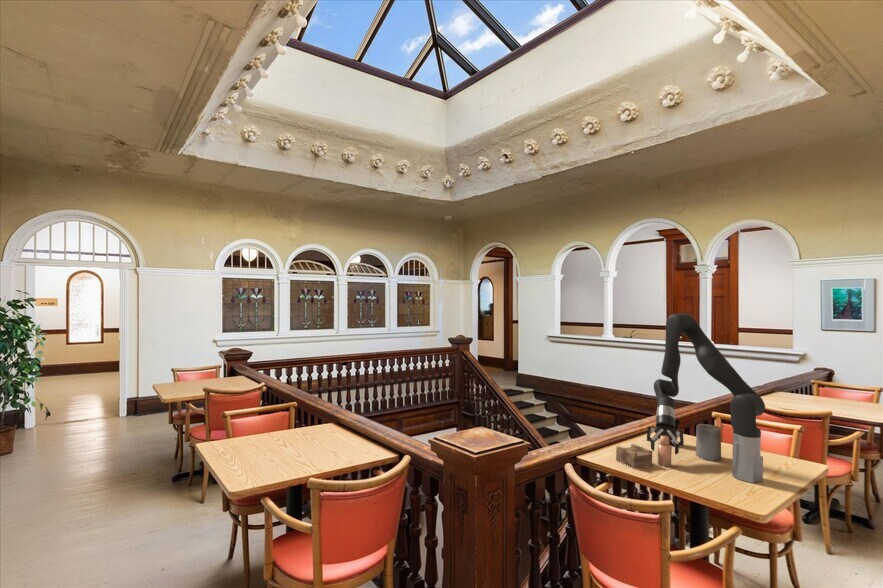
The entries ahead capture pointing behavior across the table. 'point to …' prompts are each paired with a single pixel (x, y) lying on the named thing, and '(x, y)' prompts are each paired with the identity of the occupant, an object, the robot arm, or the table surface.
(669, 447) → the peg doll
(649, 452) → the pedestal
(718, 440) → the pillar candle
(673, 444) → the coffee cup
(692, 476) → the table surface
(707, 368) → the robot arm
